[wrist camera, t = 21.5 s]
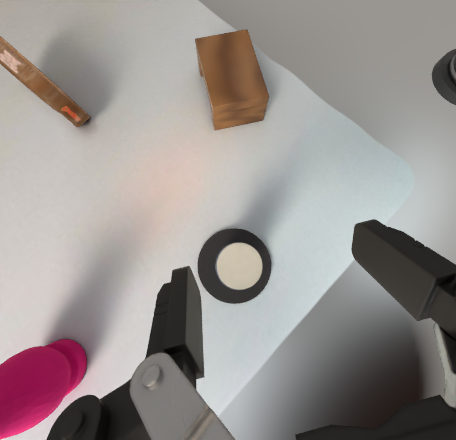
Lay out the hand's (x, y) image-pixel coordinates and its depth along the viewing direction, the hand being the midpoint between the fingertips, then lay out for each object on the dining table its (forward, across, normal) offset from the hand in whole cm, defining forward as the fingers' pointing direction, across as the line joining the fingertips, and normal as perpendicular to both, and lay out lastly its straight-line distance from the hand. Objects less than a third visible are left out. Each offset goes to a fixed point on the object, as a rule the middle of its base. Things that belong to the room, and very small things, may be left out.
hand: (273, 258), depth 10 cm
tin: (+35, +23, -10) cm, 43 cm away
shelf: (+33, -4, -7) cm, 34 cm away
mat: (+14, +2, +13) cm, 20 cm away
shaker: (+14, +2, +13) cm, 19 cm away
